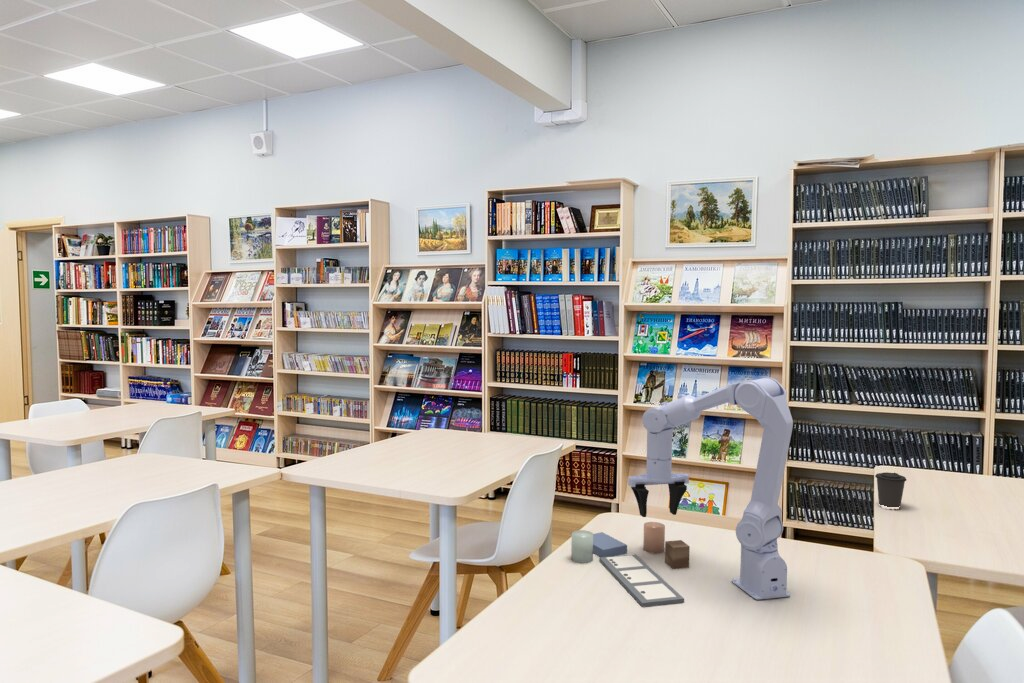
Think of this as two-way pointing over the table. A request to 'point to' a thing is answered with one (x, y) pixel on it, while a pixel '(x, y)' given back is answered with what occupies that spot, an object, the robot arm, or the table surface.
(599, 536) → the slate blue flat block
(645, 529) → the peach dome-topped cylinder
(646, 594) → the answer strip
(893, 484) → the coffee cup
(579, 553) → the sage dome-ended cylinder
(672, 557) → the block
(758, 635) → the table surface
